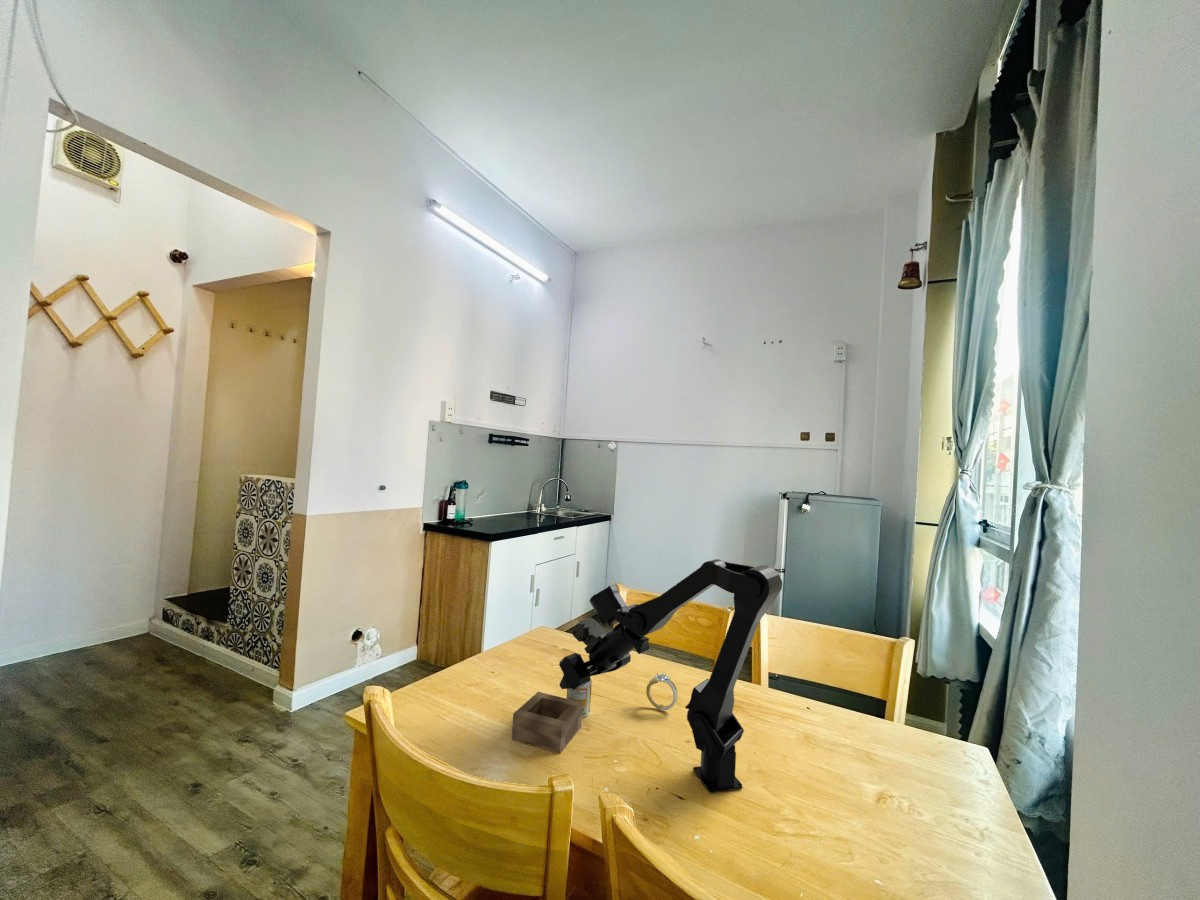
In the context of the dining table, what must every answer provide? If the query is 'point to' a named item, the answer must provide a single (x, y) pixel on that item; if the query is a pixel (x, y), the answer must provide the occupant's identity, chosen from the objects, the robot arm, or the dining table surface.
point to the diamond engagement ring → (665, 679)
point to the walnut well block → (547, 722)
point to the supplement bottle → (582, 697)
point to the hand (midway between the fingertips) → (574, 680)
